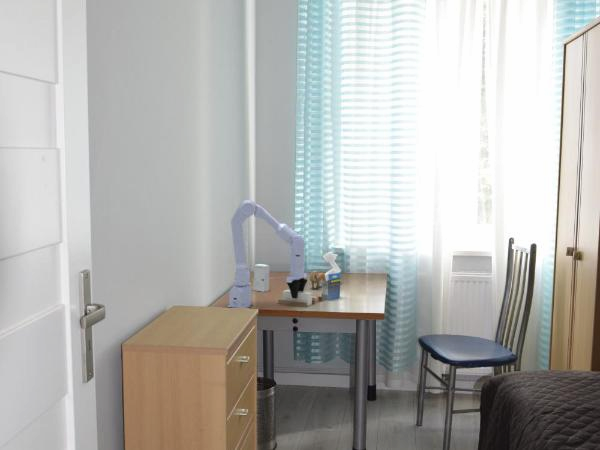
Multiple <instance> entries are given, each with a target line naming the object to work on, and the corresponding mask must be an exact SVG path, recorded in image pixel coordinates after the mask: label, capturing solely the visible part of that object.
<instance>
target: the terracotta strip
mask: <svg viewBox="0 0 600 450" xmlns="http://www.w3.org/2000/svg"><path fill="white" fill-rule="evenodd" d="M316 296H317V295H312V299H313V300H315V302H318V297H316Z"/></svg>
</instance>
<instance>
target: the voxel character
mask: <svg viewBox="0 0 600 450" xmlns="http://www.w3.org/2000/svg"><path fill="white" fill-rule="evenodd" d="M338 256H339V254H338V253H337V254H336V253H333V251H331V252H330V251H328V252H327V253H325V254H324V255H322V258H323V260H324V261H326V262H328V264H329V265H330V266H331V267H332V268H331V269H329V270H328V271H326V273H324V274H325V279H326V281H328V280H329V279H328V274H334V273H339V272H340V273H341V272H342V269H341V268H340V267H339V265H338V263H336V260H337V257H338ZM334 277H337V276H335V275H334V276H333V278H334ZM341 281H342V280H341V279H340V283H341Z"/></svg>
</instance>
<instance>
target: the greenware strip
mask: <svg viewBox="0 0 600 450" xmlns="http://www.w3.org/2000/svg"><path fill="white" fill-rule="evenodd" d="M312 296H313V292H311V291H310V292H309V291H304V290H303V291H298V296H297V298H292V296H291V292H290V289H285V290H283V291H282V300H288V301H296V302H305V303H307V306H309V305H312ZM312 306H313V305H312ZM309 307H310V306H309Z"/></svg>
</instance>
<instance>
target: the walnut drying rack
mask: <svg viewBox="0 0 600 450" xmlns="http://www.w3.org/2000/svg"><path fill="white" fill-rule="evenodd" d="M315 296H316V297H318V302H315V300H313V299H312V305H309V306H307V303H305V302H296V301H288V300H283V299H278V300H277V303H276V304H277V305H283V306H291V307H299V308H308V307H311V306H314V305H317V304H320V303H322V302H324V301H326V300H324V297H321V296H319V295H315Z"/></svg>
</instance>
